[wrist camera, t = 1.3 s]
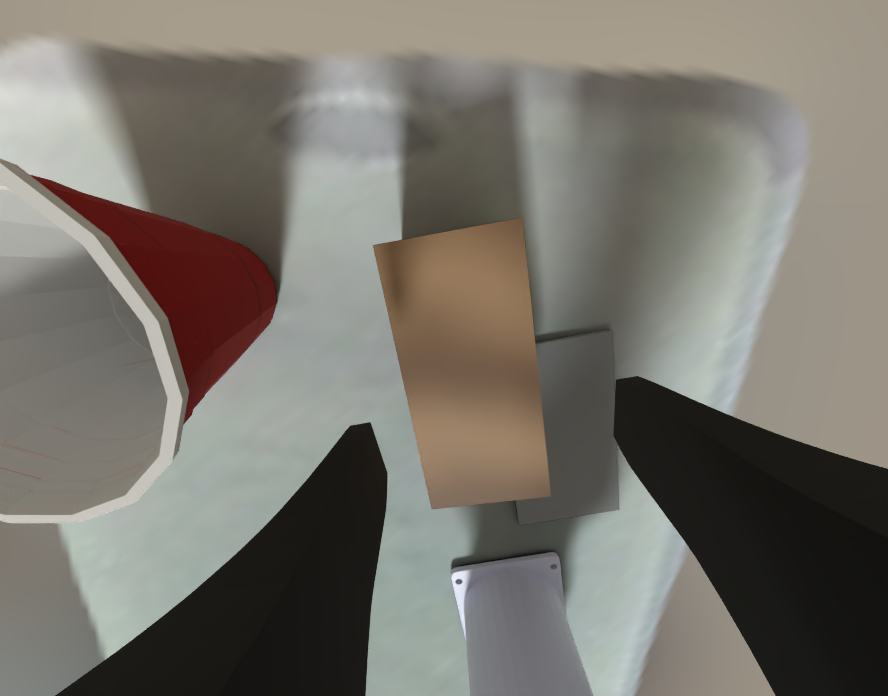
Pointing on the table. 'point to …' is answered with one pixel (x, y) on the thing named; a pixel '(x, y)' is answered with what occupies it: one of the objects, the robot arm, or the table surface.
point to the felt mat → (576, 428)
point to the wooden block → (469, 361)
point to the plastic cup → (108, 343)
